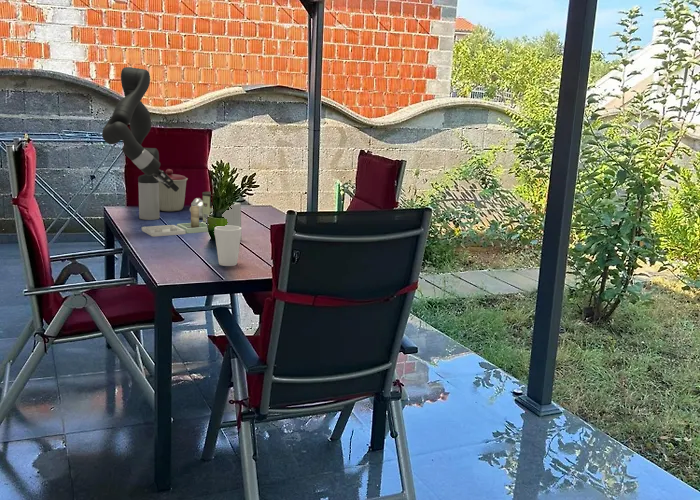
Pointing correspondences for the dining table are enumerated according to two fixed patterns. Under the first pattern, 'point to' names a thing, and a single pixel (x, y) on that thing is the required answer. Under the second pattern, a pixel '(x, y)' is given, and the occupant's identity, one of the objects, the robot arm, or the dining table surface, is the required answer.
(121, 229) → the dining table surface
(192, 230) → the tray
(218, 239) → the foam cup
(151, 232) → the cream square tray
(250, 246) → the dining table surface
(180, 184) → the canister
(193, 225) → the ball
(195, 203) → the silver lobed ball
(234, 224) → the skincare box
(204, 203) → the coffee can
